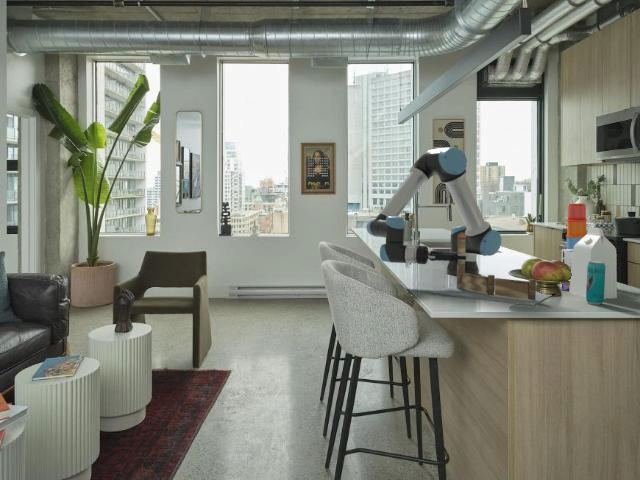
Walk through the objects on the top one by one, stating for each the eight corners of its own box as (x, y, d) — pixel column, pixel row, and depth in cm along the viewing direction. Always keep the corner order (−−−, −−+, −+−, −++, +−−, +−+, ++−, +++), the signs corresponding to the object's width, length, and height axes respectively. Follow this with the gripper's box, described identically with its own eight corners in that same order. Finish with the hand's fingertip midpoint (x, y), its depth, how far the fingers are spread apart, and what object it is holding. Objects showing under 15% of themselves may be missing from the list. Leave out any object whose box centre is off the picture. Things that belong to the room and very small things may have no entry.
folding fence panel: (490, 293, 211) (492, 234, 209) (483, 293, 209) (485, 234, 207) (460, 286, 225) (461, 231, 223) (453, 287, 223) (455, 232, 221)
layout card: (462, 283, 236) (462, 282, 236) (555, 294, 213) (555, 292, 213) (432, 293, 214) (432, 291, 214) (532, 305, 191) (532, 304, 191)
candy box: (596, 289, 223) (598, 249, 222) (599, 292, 218) (601, 251, 216) (559, 287, 228) (561, 248, 226) (561, 290, 222) (562, 249, 221)
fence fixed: (488, 293, 210) (489, 274, 209) (536, 298, 199) (537, 279, 199) (486, 294, 208) (487, 275, 207) (534, 299, 197) (534, 280, 197)
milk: (616, 298, 205) (620, 228, 203) (588, 299, 204) (592, 229, 201) (595, 292, 217) (598, 226, 215) (569, 293, 215) (571, 227, 213)
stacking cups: (591, 285, 233) (595, 203, 230) (565, 284, 235) (568, 203, 232) (586, 281, 243) (590, 203, 240) (561, 280, 245) (564, 203, 242)
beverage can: (582, 302, 198) (584, 260, 197) (597, 301, 199) (599, 260, 197) (591, 305, 192) (593, 262, 191) (607, 305, 193) (609, 262, 191)
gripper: (421, 261, 236) (477, 264, 226) (412, 266, 221) (472, 269, 212) (421, 244, 235) (478, 246, 226) (412, 247, 220) (473, 250, 211)
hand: (475, 257), depth 219 cm, fingers closed on folding fence panel, 3 cm apart
